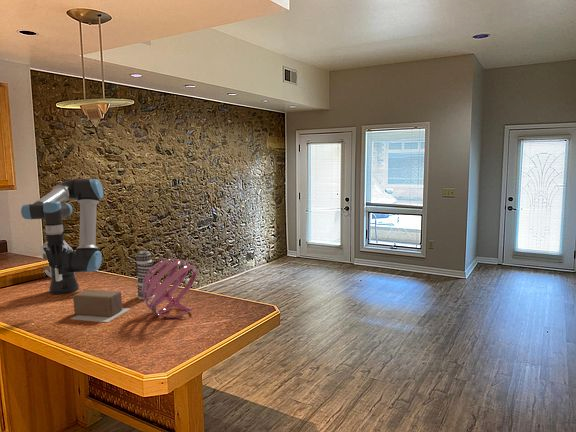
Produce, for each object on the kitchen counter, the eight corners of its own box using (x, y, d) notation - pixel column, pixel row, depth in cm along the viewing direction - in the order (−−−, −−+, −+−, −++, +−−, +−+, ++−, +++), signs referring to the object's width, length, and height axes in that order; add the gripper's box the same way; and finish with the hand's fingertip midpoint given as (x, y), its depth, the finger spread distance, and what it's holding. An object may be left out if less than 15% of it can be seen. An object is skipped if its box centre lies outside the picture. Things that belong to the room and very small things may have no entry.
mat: (95, 306, 223) (95, 306, 223) (130, 309, 218) (130, 308, 218) (70, 319, 205) (70, 318, 205) (107, 322, 200) (107, 321, 200)
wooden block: (73, 315, 210) (111, 317, 206) (72, 295, 208) (109, 297, 204) (87, 308, 219) (123, 310, 215) (85, 288, 218) (121, 290, 214)
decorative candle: (148, 300, 231) (145, 253, 228) (133, 298, 234) (130, 253, 231) (158, 295, 240) (156, 250, 236) (144, 293, 243) (141, 249, 239)
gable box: (43, 272, 293) (39, 231, 289) (64, 269, 302) (61, 229, 298) (52, 279, 277) (48, 235, 273) (75, 275, 285) (71, 232, 282)
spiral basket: (221, 272, 209) (179, 238, 215) (181, 302, 186) (135, 264, 193) (205, 308, 225) (166, 276, 231) (166, 340, 202) (124, 303, 208)
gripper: (37, 234, 210) (42, 282, 213) (60, 235, 207) (64, 283, 210) (49, 231, 217) (53, 277, 220) (71, 232, 214) (75, 279, 217)
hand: (59, 280), depth 215 cm, fingers closed
